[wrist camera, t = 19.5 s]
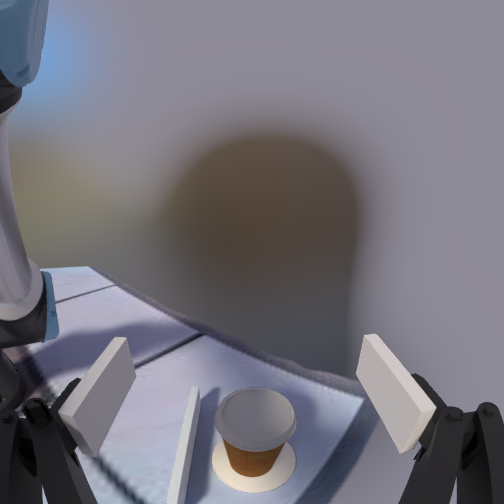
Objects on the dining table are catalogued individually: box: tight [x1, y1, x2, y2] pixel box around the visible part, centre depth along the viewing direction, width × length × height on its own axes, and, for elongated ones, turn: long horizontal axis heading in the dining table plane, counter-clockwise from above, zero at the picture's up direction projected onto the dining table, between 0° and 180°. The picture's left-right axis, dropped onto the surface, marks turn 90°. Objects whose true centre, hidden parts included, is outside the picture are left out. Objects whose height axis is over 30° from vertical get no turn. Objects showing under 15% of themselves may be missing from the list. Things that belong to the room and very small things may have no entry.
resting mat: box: [212, 439, 296, 493], centre depth 31 cm, size 12×12×1 cm
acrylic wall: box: [166, 386, 201, 504], centre depth 30 cm, size 22×1×5 cm, turn 1°
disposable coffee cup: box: [215, 387, 297, 477], centre depth 29 cm, size 10×10×12 cm
